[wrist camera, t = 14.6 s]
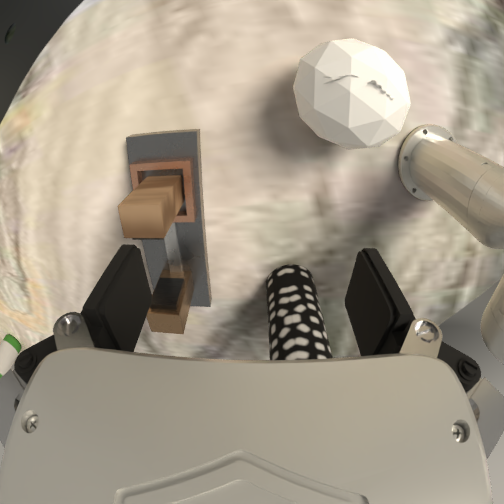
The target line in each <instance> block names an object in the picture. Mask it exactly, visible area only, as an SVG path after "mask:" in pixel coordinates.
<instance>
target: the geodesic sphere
mask: <svg viewBox="0 0 504 504" xmlns="http://www.w3.org/2000/svg"><path fill="white" fill-rule="evenodd" d="M293 90H294V94H295V99H296V103H297V108H298V112H299V117H300V118H301V119H302V120H303V121H304V122H305V123H306V124H307V125H308V126H309V127H310V128H311V129H312V130H313V131H314V132H315V133H316V134H317V136H318V137H320V138H323V139H325V140H328V141H330V142H332V143H335V144H337V145H339V146H342V147H344V148H346V149H357V148H367V147H379V146H381V145H382V144H383V143H385V142H386V141H388V140H389V139H391V138H392V137H394V136H395V135H397V134H398V133H399V132H400V131H401V128H402V126H403V123H404V121H405V118H406V115H407V113H408V110H409V108H410V105H411V102H410V97H409V92H408V87H407V82H406V78H405V74H404V71H403V70H402V69H401V68H400V67H399V66H398V65H397V63H396V62H395V61H394V60H393V59H392V58H391V57H390V56H389V55H388V54H387V53H386V52H385V51H384V50H381V49H379V48H377V47H375V46H372V45H370V44H367V43H364V42H362V41H359V40H356V39H353V38H352V39H343V40H334V41H329V42H325V43H321V44H320V45H318V46H317V47H316V48H314V49H313V50H311V51H310V52H309V53H307V54H306V55H305V56H303V57H302V58H301V59H300V62H299V66H298V70H297V74H296V77H295V81H294V85H293Z"/></svg>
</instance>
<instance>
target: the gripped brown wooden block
mask: <svg viewBox="0 0 504 504" xmlns="http://www.w3.org/2000/svg"><path fill="white" fill-rule="evenodd" d="M183 203H184V197H183V186H182V175H166V176H148V177H146V178H145V179H144V180H143V181H142V182H141V183H140V184H139V185H138V186H137V187H136V188H135V189H134V190H133V191H132V192H131V193H130V194H129V195H128V196H127V197H126V198H125V199H124V200H123V201H122V202H121V203H120V204H119V205H118V210H119V215H120V220H121V224H122V229H123V233H124V238H132V239H140V240H164V238H165V236H166V234H167V232H168V230H169V228H170V227H171V225H172V223H173V221H174V219H175V217H176V215H177V213H178V212H179V210H180V208H181V206H182V204H183Z"/></svg>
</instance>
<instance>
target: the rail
mask: <svg viewBox="0 0 504 504" xmlns="http://www.w3.org/2000/svg"><path fill="white" fill-rule="evenodd" d="M126 141H127V150H128V159H129V167H130V174H131V181H132V188H133V190H134V189H135V188H136V187H137V186H138V185H139V184H140V183H141V182H142V181H143V180H144V179H145V178H146V177H148V176H166V175H182V186H183V197H184V203H183V204H182V206H181V208H180V210H179V212H178V213H177V215H176V217H175V219H174V221H173V223H172V225H171V227H170V228H169V230H168V232H167V234H166V236H165V238H164V240H142V242H143V247H144V251H145V256H146V260H147V265H148V269H149V273H150V277H151V281H152V285H153V289H154V292H153V294H152V302H151V305H150V308H149V310H148V313H147V316H146V317H147V320H148V323H149V326H150V328H151V331H152V332H163V333H175V334H184V330H185V325H186V321H187V317H188V312H189V308H190V306H205V307H210V306H211V300H212V298H211V289H210V279H209V268H208V257H207V246H206V233H205V220H204V206H203V190H202V172H201V151H200V129H191V130H175V131H163V132H153V133H143V134H135V135H130V136H128V137H126Z"/></svg>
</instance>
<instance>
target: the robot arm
mask: <svg viewBox="0 0 504 504" xmlns="http://www.w3.org/2000/svg"><path fill="white" fill-rule="evenodd" d="M398 168H399V175H400V178H401V181H402V183H403V185H404V187H405V188H406V189H407V191H408V192H410V193H411V194H412V195H413V196H415V197H416V198H418V199H421V200H425V201H430V200H434V201H435V202H436V203H438V204H439V205H440V206H441V207H442V208H443V209H445V210H446V211H447V212H448V213H449V214H450V215H451V216H453V217H454V218H455V219H456V220H457V221H458V222H459V223H460V224H461V225H462V226H464V227H465V228H466V229H467V230H468V231H469V232H470V233H471V234H472V235H473V236H474V237H475V238H476V239H477V240H478V241H479V242H481V243H482V244H483V245H485V246H487V247H490V248H493V249H504V167H502V166H501V165H499V164H497V163H495V162H493V161H491V160H490V159H488V158H486V157H484V156H482V155H480V154H478V153H476V152H474V151H472V150H470V149H468V148H465V147H463V146H461V145H459V144H457V141H456V140H455V138H454V136H453V135H452V134H451V133H450V132H449V131H448V130H446V129H445V128H442V127H440V126H437V125H432V124H427V125H422V126H420V127H418V128H416V129H415V130H414V131H412V132H411V133H410V134H409V135H408V137H407V138H406V140H405V141H404V143H403V145H402V148H401V150H400V154H399V162H398ZM151 302H152V294H151V291H150V287H149V283H148V279H147V276H146V272H145V268H144V264H143V259H142V255H141V251H140V249H139V248H137V247H136V245H122V246H121V247H120V249H119V250H118V252H117V253H116V255H115V256H114V258H113V259H112V261H111V262H110V264H109V265H108V267H107V268H106V270H105V271H104V273H103V275H102V276H101V278H100V279H99V281H98V282H97V284H96V286H95V287H94V289H93V291H92V292H91V294H90V296H89V297H88V299H87V301H86V302H85V304H84V306H83V310H82V311H81V313H77V312H70V313H66V314H64V315H63V316H61V317H60V318H59V319H58V320H57V321H56V323H55V325H54V328H53V332H54V335H52V336H50V337H48V338H46V339H44V340H43V341H41V342H39V343H37V344H35V345H33V346H31V347H29V348H28V349H26V350H24V351H23V352H21V353H20V354H19V355H18V357H17V359H16V361H15V369H14V370H13V371H12V369H10V370H9V371H8V372H6V373H5V374H4V375H3V376H2V377H1V378H0V441H1V443H2V444H3V446H4V448H5V449H4V453H3V457H2V462H1V468H0V504H493V498H492V490H491V482H490V476H489V469H488V464H487V458H488V457H489V455H490V454H491V452H492V450H493V449H494V447H495V445H496V444H497V442H498V440H499V438H500V437H501V435H502V433H503V431H504V396H503V395H502V394H501V393H500V392H499V391H498V390H497V389H496V388H495V387H494V386H493V385H492V384H491V383H490V382H489V381H488V380H487V379H486V378H485V377H484V378H483V379H482V378H481V371H480V368H479V366H478V364H477V363H476V361H475V360H473V359H472V358H470V357H469V356H466V355H465V354H463V353H461V352H460V351H458V350H456V349H454V348H453V347H451V346H449V345H447V344H446V343H444V342H442V332H441V330H440V328H439V326H438V325H437V324H436V323H434V322H433V321H431V320H429V319H426V318H418V319H415V317H414V315H413V312H412V310H411V308H410V306H409V304H408V302H407V301H406V299H405V297H404V295H403V293H402V292H401V290H400V288H399V286H398V284H397V283H396V281H395V279H394V278H393V276H392V274H391V272H390V271H389V269H388V267H387V266H386V264H385V262H384V261H383V259H382V257H381V256H380V254H379V253H378V251H377V250H376V249H373V248H363V249H362V251H361V252H358V254H357V258H356V262H355V266H354V269H353V273H352V277H351V280H350V284H349V287H348V291H347V294H346V297H345V306H346V309H347V312H348V315H349V319H350V322H351V325H352V328H353V331H354V334H355V337H356V341H357V344H358V347H359V350H360V354H361V356H358V357H344V358H330V359H310V360H222V359H202V358H187V357H175V356H164V355H154V354H145V353H136V352H134V349H135V346H136V343H137V340H138V338H139V335H140V332H141V329H142V326H143V324H144V321H145V318H146V316H147V313H148V310H149V308H150V305H151ZM481 334H482V338H483V341H484V343H485V345H486V347H487V348H488V349H489V351H490V352H491V353H492V354H493V356H494V357H495V358H496V359H497V360H498V361H500V362H501V363H502V364H503V365H504V274H503V276H502V278H501V280H500V282H499V284H498V286H497V288H496V290H495V292H494V293H493V295H492V297H491V299H490V301H489V303H488V305H487V307H486V309H485V311H484V313H483V316H482V320H481Z"/></svg>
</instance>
